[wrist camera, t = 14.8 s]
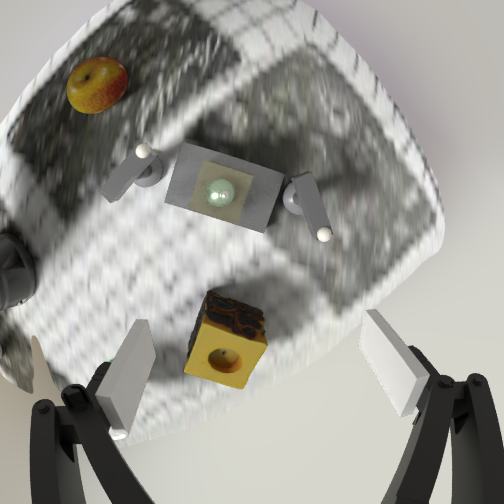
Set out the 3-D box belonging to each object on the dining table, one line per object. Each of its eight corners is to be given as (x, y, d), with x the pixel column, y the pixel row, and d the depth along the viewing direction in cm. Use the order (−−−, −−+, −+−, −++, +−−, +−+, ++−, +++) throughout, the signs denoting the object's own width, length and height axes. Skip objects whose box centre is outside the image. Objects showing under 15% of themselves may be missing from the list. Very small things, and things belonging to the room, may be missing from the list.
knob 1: (141, 200, 41) (114, 212, 31) (120, 178, 40) (88, 184, 30) (178, 159, 40) (160, 159, 30) (156, 137, 39) (132, 130, 29)
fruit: (130, 56, 34) (111, 38, 27) (138, 103, 37) (118, 93, 29) (80, 78, 34) (55, 67, 27) (86, 124, 37) (60, 120, 30)
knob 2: (273, 178, 42) (285, 183, 32) (304, 166, 41) (325, 168, 31) (293, 230, 44) (309, 250, 34) (323, 218, 44) (346, 235, 34)
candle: (207, 288, 47) (200, 320, 37) (264, 309, 48) (270, 343, 39) (189, 336, 49) (180, 372, 40) (241, 353, 51) (242, 391, 41)
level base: (168, 200, 42) (147, 212, 32) (185, 142, 39) (168, 136, 29) (262, 229, 44) (269, 250, 34) (282, 173, 41) (296, 177, 31)
